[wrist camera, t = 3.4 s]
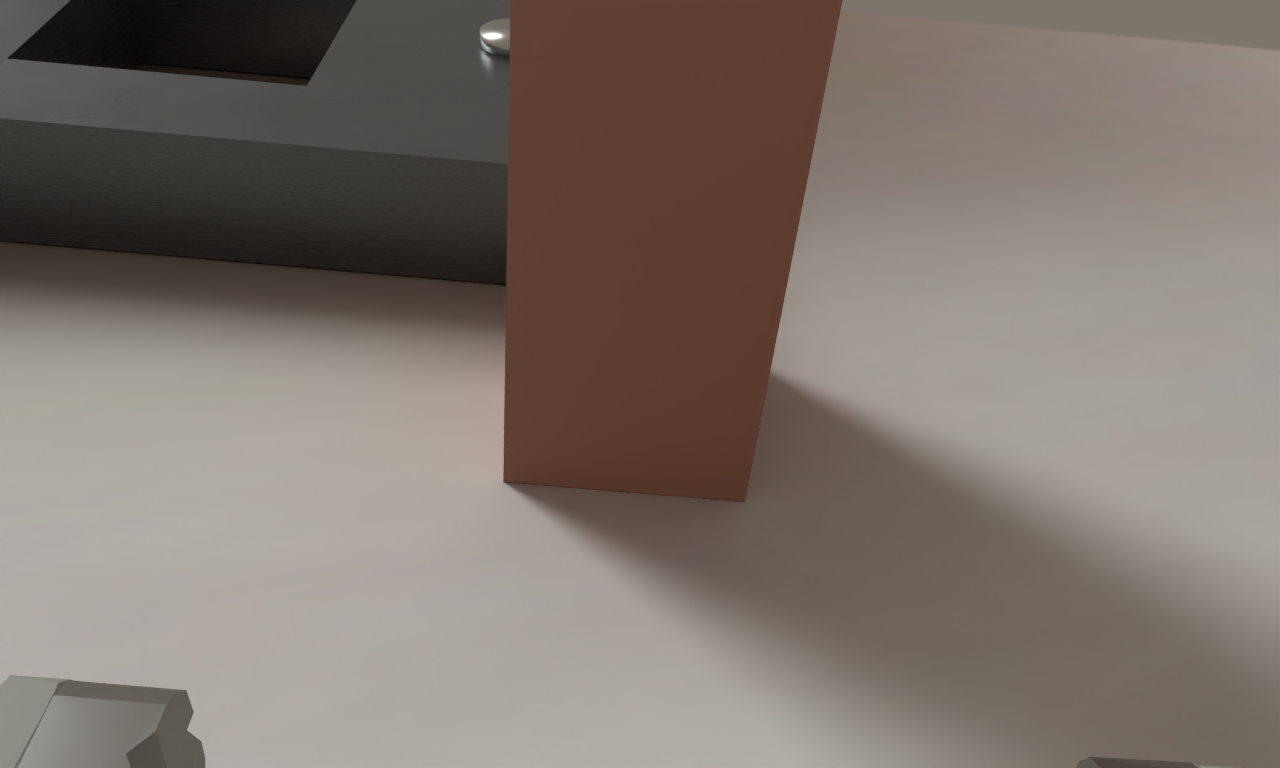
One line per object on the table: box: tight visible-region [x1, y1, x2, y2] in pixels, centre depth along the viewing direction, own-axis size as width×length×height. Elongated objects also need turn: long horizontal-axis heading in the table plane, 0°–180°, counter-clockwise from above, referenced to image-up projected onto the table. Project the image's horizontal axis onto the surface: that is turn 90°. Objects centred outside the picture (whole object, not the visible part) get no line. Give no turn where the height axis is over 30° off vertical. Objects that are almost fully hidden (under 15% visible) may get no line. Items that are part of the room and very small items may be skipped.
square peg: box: [503, 0, 842, 502], centre depth 20 cm, size 4×4×10 cm
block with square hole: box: [0, 0, 510, 284], centre depth 30 cm, size 20×12×3 cm, turn 88°
